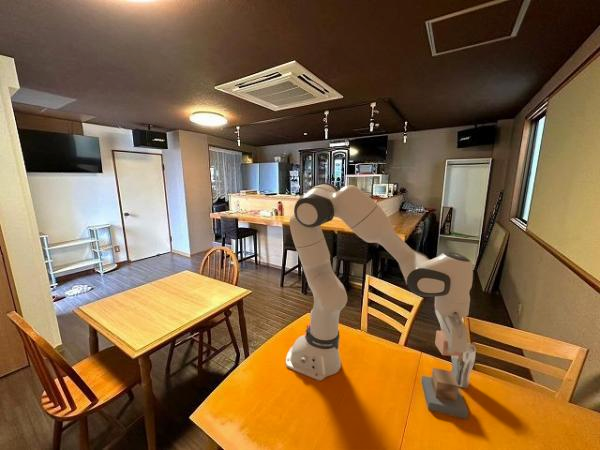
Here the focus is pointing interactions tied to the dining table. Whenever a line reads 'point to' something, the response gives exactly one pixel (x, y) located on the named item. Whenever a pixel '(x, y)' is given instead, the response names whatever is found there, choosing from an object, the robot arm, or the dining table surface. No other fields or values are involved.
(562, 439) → the dining table surface
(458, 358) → the beer glass
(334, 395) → the dining table surface
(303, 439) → the dining table surface
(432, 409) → the plinth
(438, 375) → the walnut cube
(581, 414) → the dining table surface
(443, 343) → the terracotta cube
